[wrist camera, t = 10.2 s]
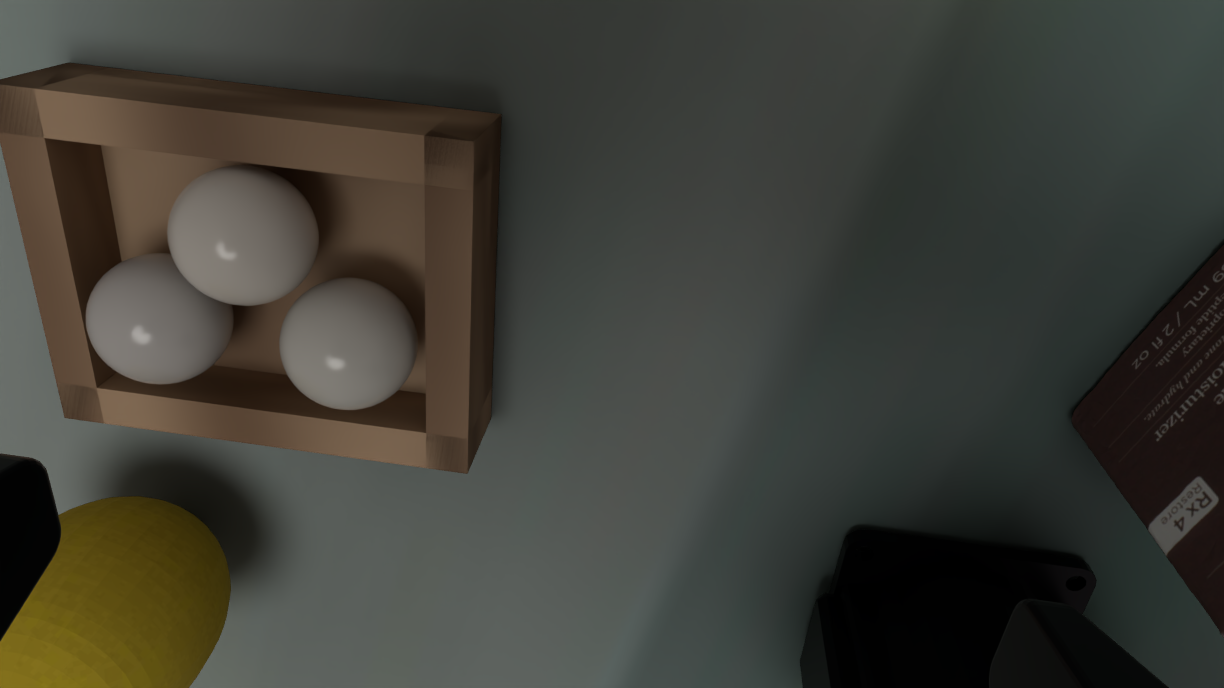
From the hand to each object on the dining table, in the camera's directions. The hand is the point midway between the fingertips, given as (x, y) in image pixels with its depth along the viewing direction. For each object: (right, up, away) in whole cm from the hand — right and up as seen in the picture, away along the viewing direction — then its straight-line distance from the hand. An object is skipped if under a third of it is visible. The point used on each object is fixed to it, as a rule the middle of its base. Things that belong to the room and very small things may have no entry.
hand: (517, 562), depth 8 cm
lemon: (-12, -3, +18) cm, 22 cm away
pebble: (-9, +3, +13) cm, 16 cm away
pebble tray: (-7, +4, +13) cm, 16 cm away
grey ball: (-7, +5, +12) cm, 15 cm away
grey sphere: (-5, +3, +13) cm, 14 cm away
